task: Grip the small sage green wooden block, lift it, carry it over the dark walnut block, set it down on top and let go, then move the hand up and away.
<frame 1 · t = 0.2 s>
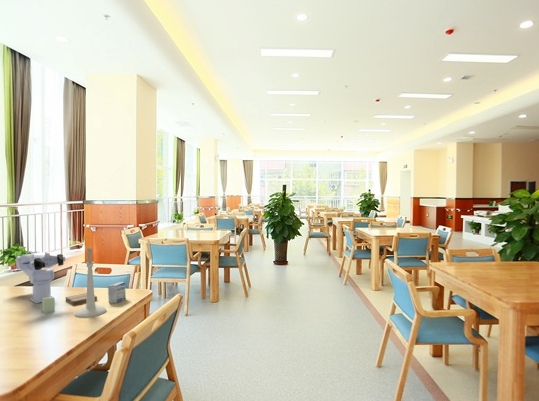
hand: (53, 263, 166), 21 cm above the table, tool horizontal, fingers open, 7 cm apart
candlestick: (90, 313, 160), on the table
medicine box: (117, 301, 178), on the table
walnut block: (81, 301, 179), on the table
sage block: (48, 310, 164), on the table
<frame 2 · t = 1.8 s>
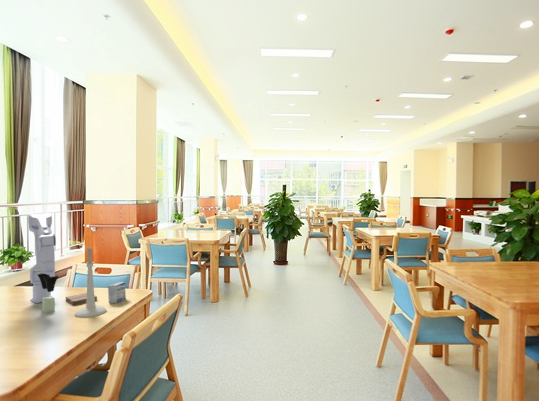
hand: (48, 290, 163), 10 cm above the table, tool pointing down, fingers open, 7 cm apart
nothing on the table moved.
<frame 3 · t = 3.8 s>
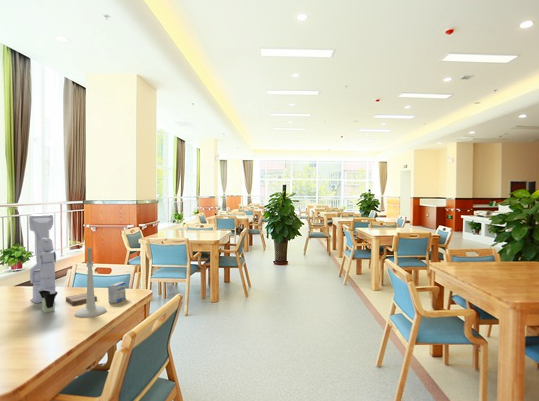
hand: (48, 306, 163), 2 cm above the table, tool pointing down, fingers closed on sage block, 4 cm apart
sage block: (48, 310, 164), on the table, touching gripper
everything else where it was.
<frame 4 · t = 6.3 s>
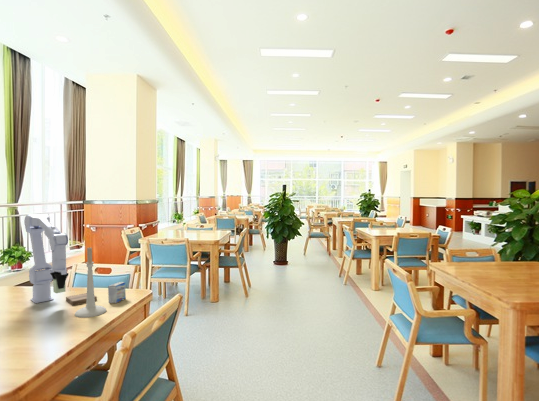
hand: (59, 287, 168), 9 cm above the table, tool pointing down, fingers closed on sage block, 4 cm apart
sage block: (59, 291, 168), point 7 cm above the table, touching gripper
everything else where it was.
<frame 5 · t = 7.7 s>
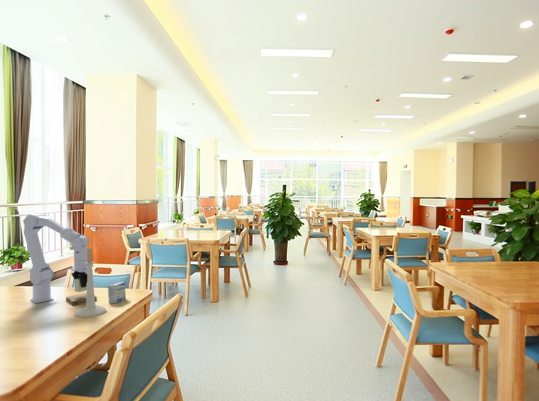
hand: (81, 286, 179), 7 cm above the table, tool pointing down, fingers closed on sage block, 4 cm apart
sage block: (80, 290, 178), point 5 cm above the table, touching gripper
everything else where it was.
when the fingers open (5 cm above the table, at t = 8.9 s): sage block drops 2 cm, resting on walnut block.
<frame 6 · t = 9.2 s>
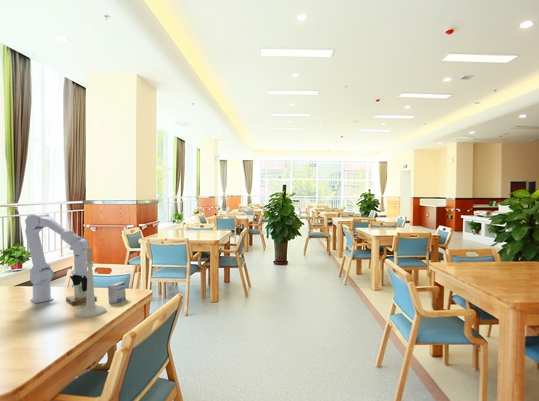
hand: (81, 290, 179), 5 cm above the table, tool pointing down, fingers open, 7 cm apart
walnut block: (81, 301, 179), on the table, touching sage block
sage block: (80, 297, 178), point 2 cm above the table, touching walnut block
everything else where it was.
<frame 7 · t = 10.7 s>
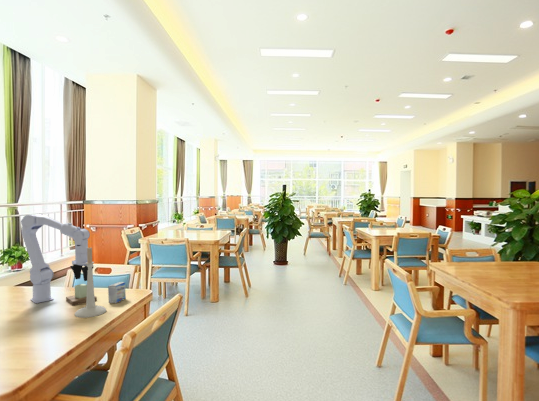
hand: (82, 279, 179), 10 cm above the table, tool pointing down, fingers open, 7 cm apart
nothing on the table moved.
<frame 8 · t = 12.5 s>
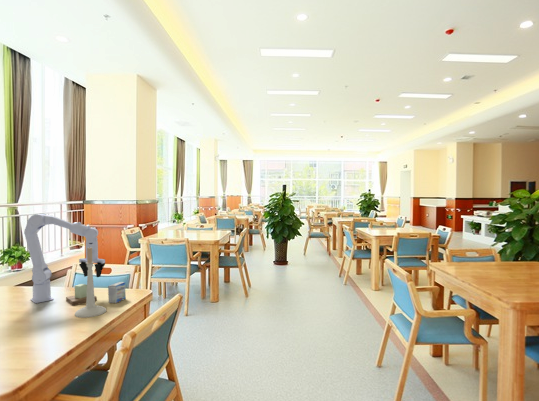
hand: (92, 276, 186), 10 cm above the table, tool pointing down, fingers open, 7 cm apart
walnut block: (81, 301, 179), on the table
sage block: (81, 296, 179), point 2 cm above the table
everything else where it was.
at the end: sage block inside the target area on the walnut block (0.2 cm from its centre), point 2.5 cm above the walnut block's base; sage block tilted 0°; the gripper is holding nothing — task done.
